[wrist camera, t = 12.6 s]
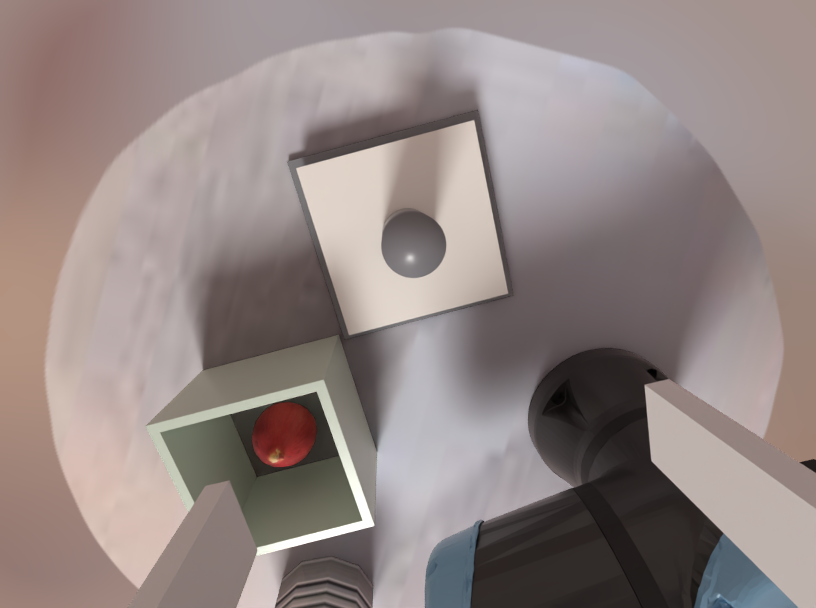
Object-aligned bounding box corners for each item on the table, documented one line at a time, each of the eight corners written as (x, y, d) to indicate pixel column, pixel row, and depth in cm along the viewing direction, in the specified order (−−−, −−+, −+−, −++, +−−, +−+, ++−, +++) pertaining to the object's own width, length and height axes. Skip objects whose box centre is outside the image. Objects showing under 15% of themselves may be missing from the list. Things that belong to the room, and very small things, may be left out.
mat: (476, 110, 35) (477, 109, 35) (512, 294, 40) (513, 295, 40) (288, 162, 36) (287, 161, 35) (344, 338, 40) (344, 339, 40)
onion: (302, 447, 43) (284, 502, 36) (254, 420, 42) (225, 471, 35) (332, 406, 42) (320, 453, 35) (283, 377, 41) (259, 420, 33)
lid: (468, 124, 35) (501, 98, 25) (501, 287, 39) (540, 320, 29) (301, 169, 36) (268, 161, 26) (351, 327, 40) (339, 372, 30)
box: (338, 334, 40) (323, 379, 31) (377, 452, 44) (374, 525, 34) (202, 370, 40) (145, 426, 31) (252, 484, 44) (215, 566, 35)
